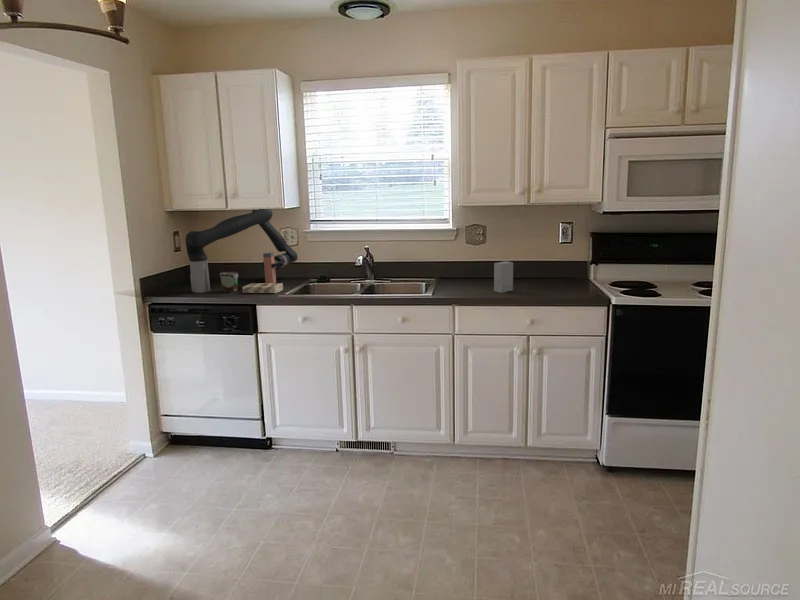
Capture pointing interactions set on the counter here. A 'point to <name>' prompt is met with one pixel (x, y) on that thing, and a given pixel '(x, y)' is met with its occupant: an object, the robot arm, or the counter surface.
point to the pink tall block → (269, 268)
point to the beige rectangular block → (263, 288)
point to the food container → (229, 281)
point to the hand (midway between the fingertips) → (267, 266)
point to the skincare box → (503, 276)
